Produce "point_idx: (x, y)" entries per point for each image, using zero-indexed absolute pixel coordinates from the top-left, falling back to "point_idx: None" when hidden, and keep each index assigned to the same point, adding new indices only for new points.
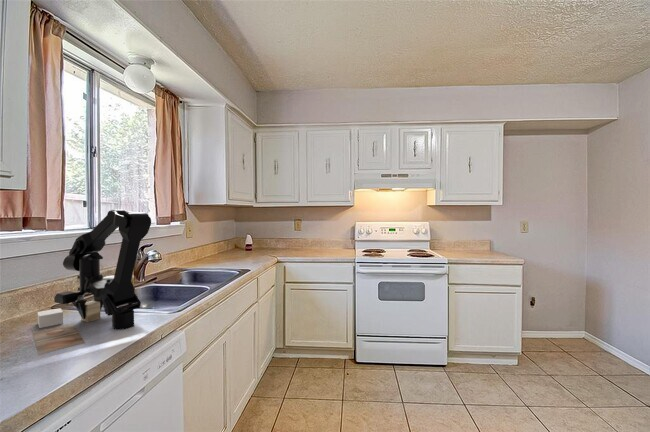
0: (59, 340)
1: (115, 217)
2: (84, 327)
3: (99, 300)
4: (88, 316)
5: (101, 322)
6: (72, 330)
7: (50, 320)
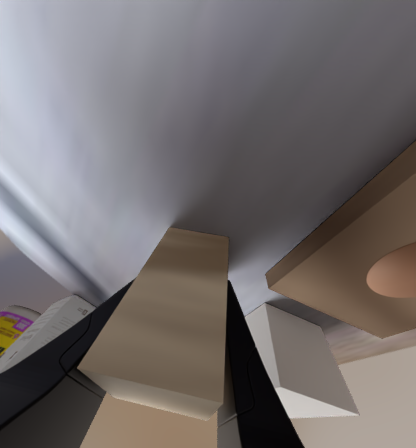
0: None
1: None
2: (256, 230)
3: (71, 386)
4: (224, 274)
5: (173, 213)
6: (404, 206)
7: (310, 359)
